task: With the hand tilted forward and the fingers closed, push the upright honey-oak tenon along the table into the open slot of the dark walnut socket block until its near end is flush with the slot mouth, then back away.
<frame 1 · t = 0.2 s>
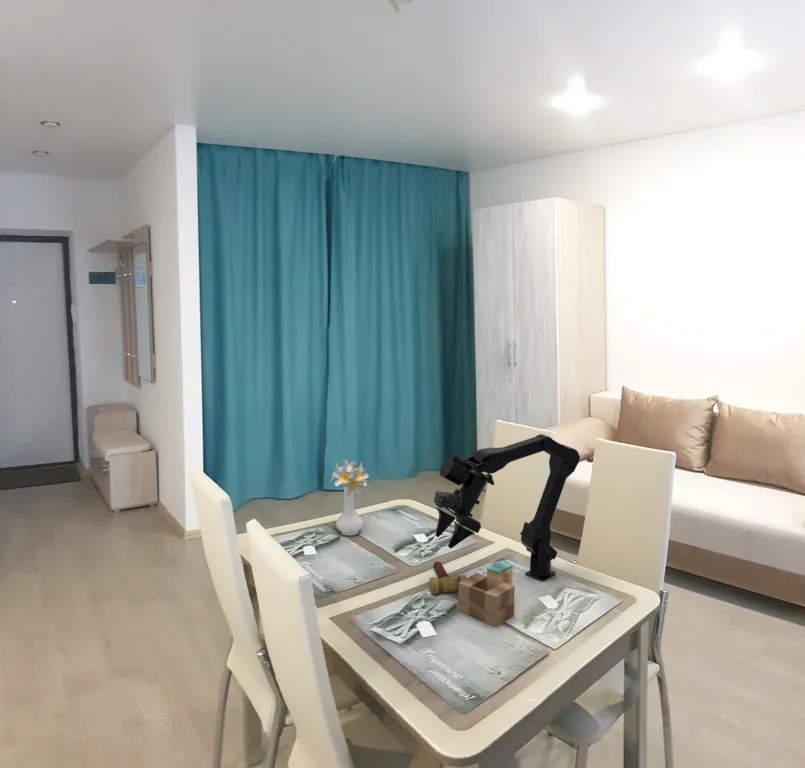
hand: (443, 541, 183), 15 cm above the table, tool tilted 30°, fingers open, 9 cm apart
tenon: (499, 585, 177), point 6 cm above the table, slide at 0.0 cm
gavel: (442, 580, 194), on the table
socket block: (486, 613, 173), on the table
flower vase: (351, 533, 231), on the table
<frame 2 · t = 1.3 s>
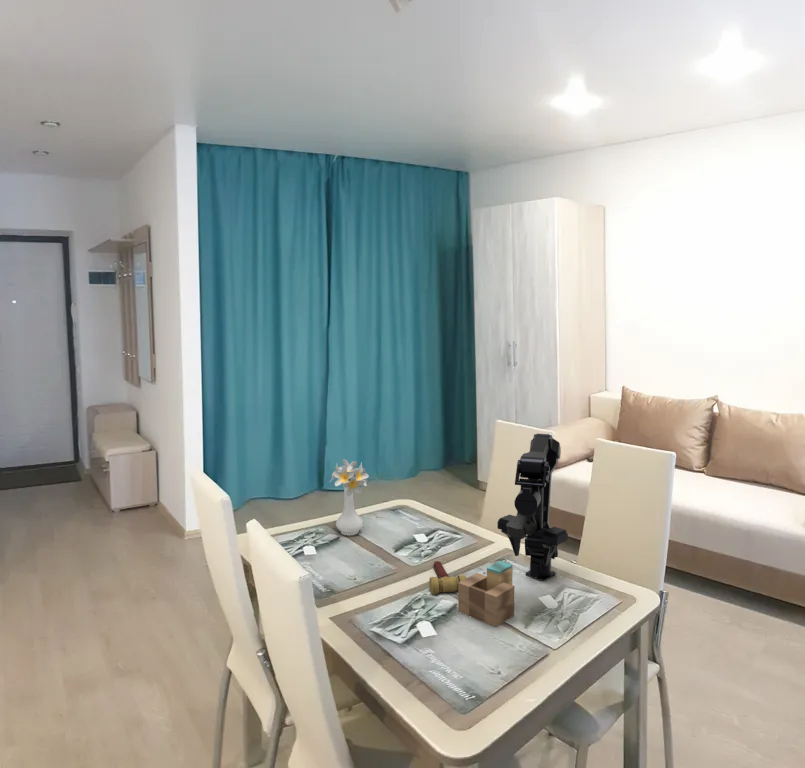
hand: (531, 560, 177), 12 cm above the table, tool pointing down, fingers open, 9 cm apart
nothing on the table moved.
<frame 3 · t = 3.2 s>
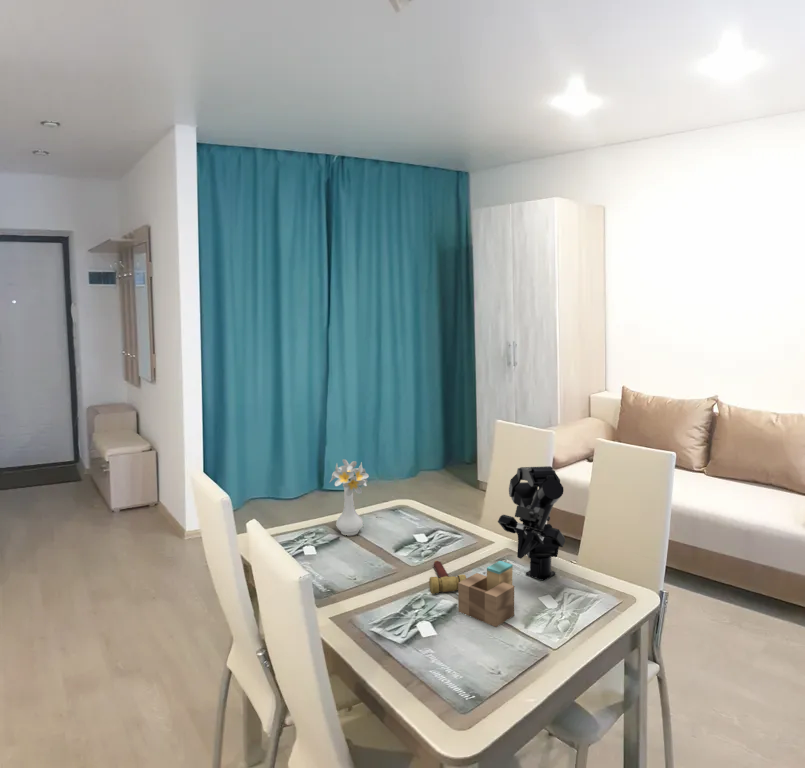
hand: (519, 557, 182), 11 cm above the table, tool tilted 45°, fingers closed
nothing on the table moved.
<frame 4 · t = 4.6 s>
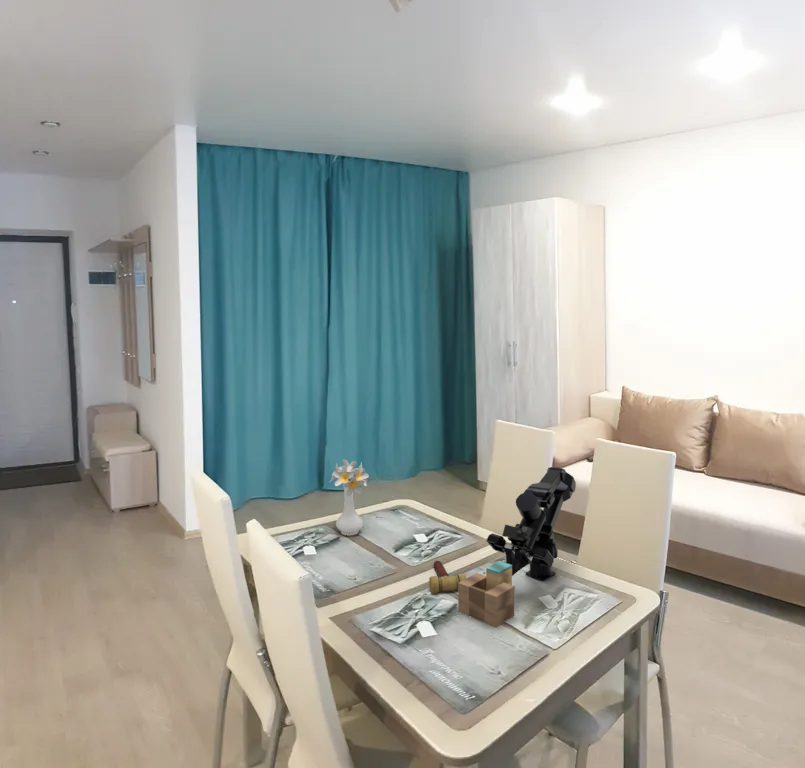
hand: (506, 577, 178), 7 cm above the table, tool tilted 45°, fingers closed, pressing on tenon
tenon: (499, 585, 176), point 6 cm above the table, slide at 0.2 cm, touching gripper
everything else where it was.
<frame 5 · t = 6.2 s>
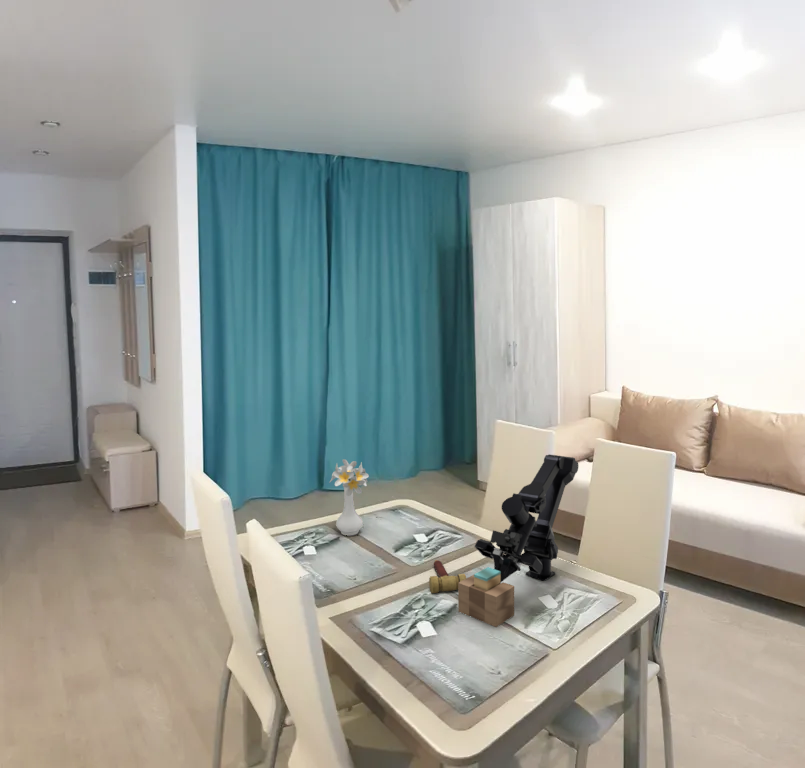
hand: (494, 584, 175), 7 cm above the table, tool tilted 45°, fingers closed, pressing on tenon
tenon: (487, 592, 173), point 6 cm above the table, slide at 5.5 cm, touching gripper
everything else where it was.
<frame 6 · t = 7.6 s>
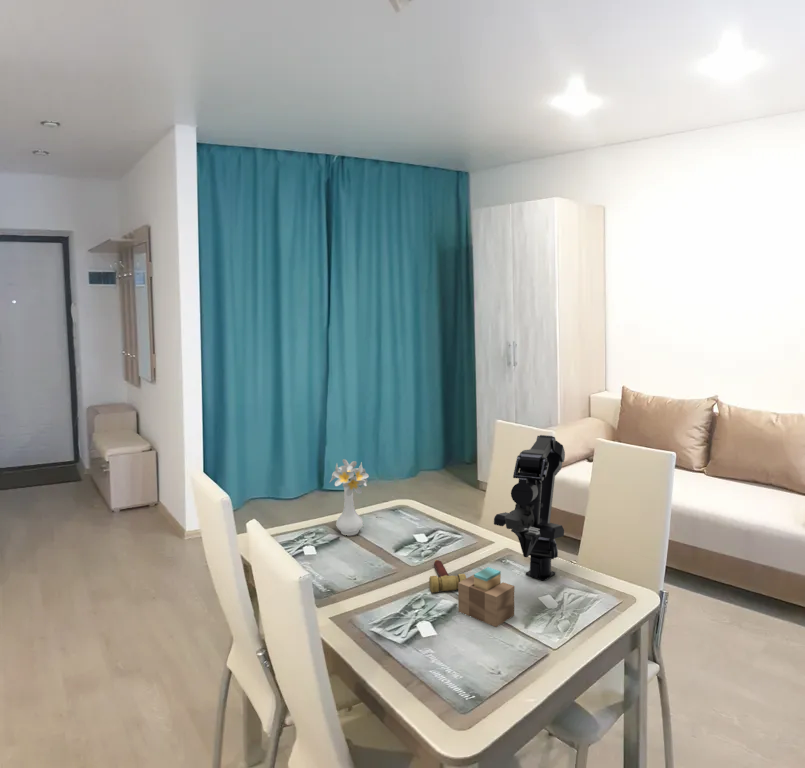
hand: (525, 556, 178), 12 cm above the table, tool pointing down, fingers closed
tenon: (487, 592, 173), point 6 cm above the table, slide at 5.5 cm
everything else where it was.
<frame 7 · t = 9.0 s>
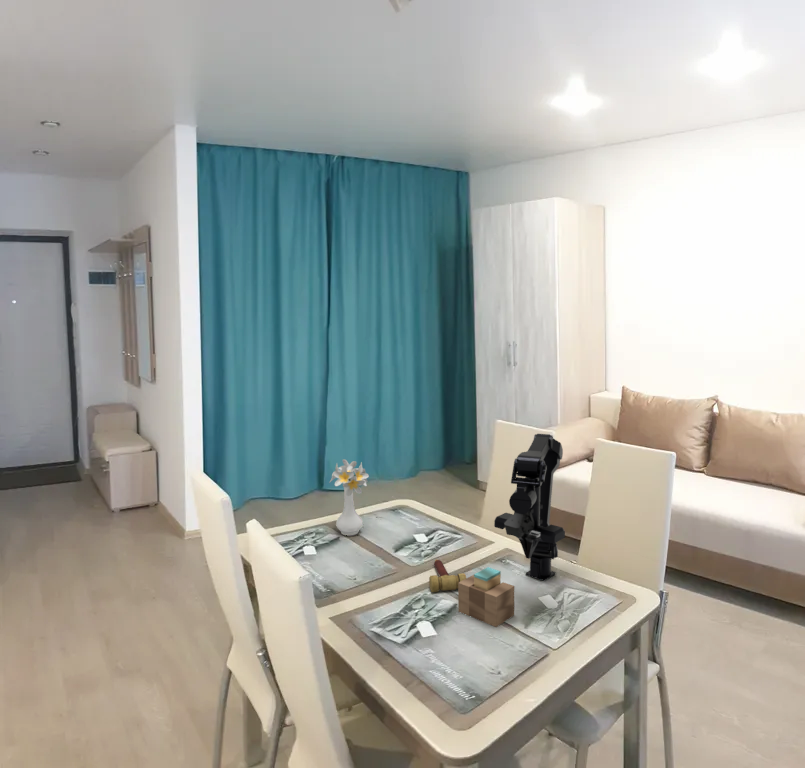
hand: (528, 558, 178), 12 cm above the table, tool pointing down, fingers closed
at the end: tenon slide at 5.5 cm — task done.
